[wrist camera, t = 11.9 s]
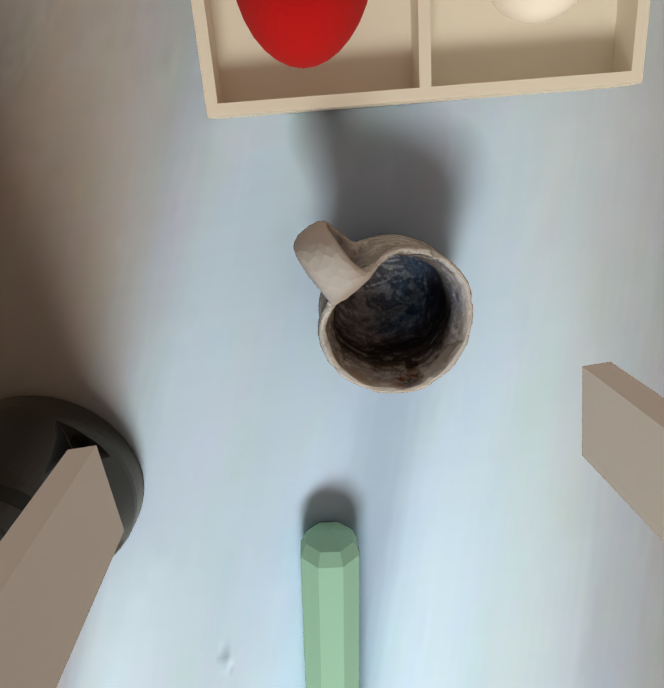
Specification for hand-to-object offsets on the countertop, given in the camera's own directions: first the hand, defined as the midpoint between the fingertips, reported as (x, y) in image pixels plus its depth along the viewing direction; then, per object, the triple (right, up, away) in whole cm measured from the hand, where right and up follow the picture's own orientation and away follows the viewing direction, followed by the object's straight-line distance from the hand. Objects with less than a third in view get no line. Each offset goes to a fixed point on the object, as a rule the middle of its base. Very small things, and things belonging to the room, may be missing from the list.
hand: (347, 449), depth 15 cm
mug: (+2, +7, +25) cm, 26 cm away
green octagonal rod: (0, -23, +36) cm, 43 cm away
